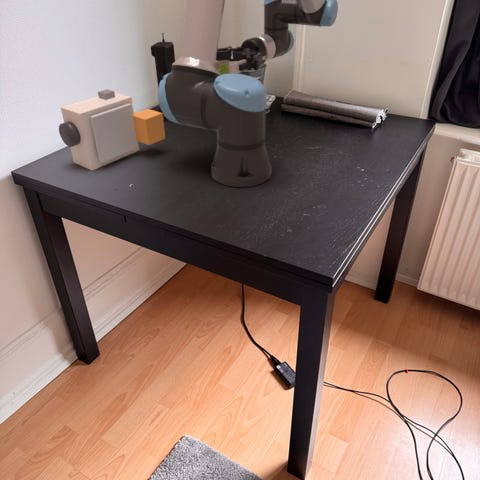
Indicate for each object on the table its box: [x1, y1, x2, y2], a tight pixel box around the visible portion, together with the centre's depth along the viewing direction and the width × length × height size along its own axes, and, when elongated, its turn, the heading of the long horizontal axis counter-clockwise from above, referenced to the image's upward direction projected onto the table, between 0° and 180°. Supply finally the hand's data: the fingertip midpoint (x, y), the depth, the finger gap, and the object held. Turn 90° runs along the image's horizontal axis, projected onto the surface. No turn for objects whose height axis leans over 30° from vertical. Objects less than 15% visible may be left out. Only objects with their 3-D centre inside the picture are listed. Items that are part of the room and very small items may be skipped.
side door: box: [90, 104, 166, 163], centre depth 118 cm, size 6×18×12 cm, turn 142°
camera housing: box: [58, 89, 140, 171], centre depth 119 cm, size 9×18×16 cm, turn 142°
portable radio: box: [150, 32, 176, 121], centre depth 142 cm, size 8×6×25 cm
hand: (210, 66), depth 123 cm, fingers open, 13 cm apart
